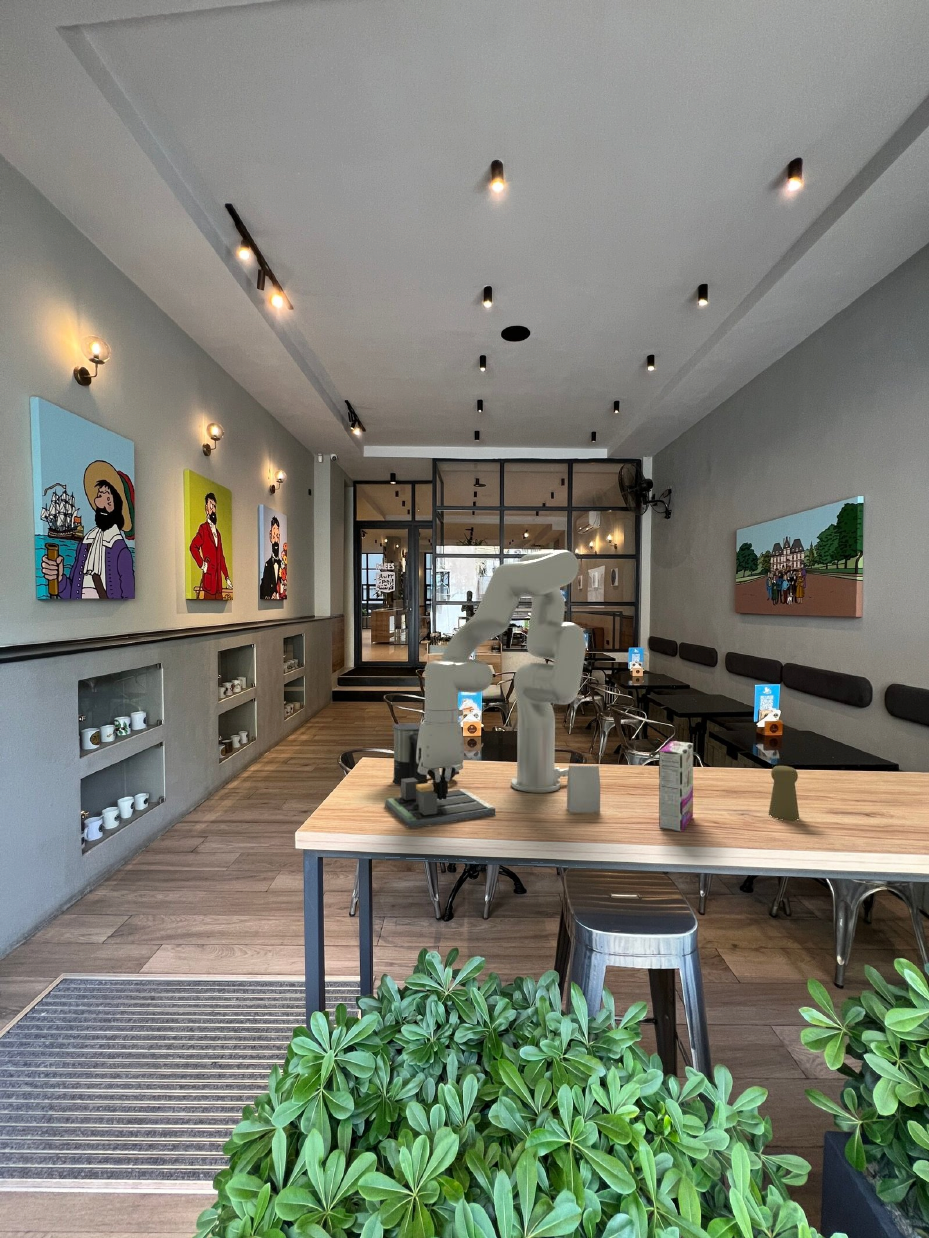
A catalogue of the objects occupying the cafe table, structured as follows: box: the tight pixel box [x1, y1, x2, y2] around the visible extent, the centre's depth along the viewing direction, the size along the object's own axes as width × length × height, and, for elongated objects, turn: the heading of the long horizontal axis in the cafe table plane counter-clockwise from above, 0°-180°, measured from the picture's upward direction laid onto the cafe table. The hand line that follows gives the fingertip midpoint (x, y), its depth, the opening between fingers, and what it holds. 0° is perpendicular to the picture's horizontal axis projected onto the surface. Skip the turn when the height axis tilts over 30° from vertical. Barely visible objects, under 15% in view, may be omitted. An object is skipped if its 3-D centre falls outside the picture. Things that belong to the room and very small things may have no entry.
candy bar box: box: [658, 740, 694, 833], centre depth 129 cm, size 11×5×16 cm, turn 148°
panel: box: [384, 788, 496, 829], centre depth 136 cm, size 20×16×2 cm
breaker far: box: [400, 778, 418, 800], centre depth 138 cm, size 3×3×4 cm
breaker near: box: [419, 791, 437, 815], centre depth 128 cm, size 3×3×4 cm
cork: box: [768, 765, 800, 822], centre depth 134 cm, size 6×6×11 cm
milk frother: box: [392, 722, 460, 787], centre depth 158 cm, size 14×16×15 cm
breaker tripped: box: [416, 782, 434, 805], centre depth 134 cm, size 3×3×4 cm
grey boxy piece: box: [566, 765, 601, 814], centre depth 137 cm, size 4×7×10 cm, turn 91°
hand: (440, 797), depth 136 cm, fingers closed
